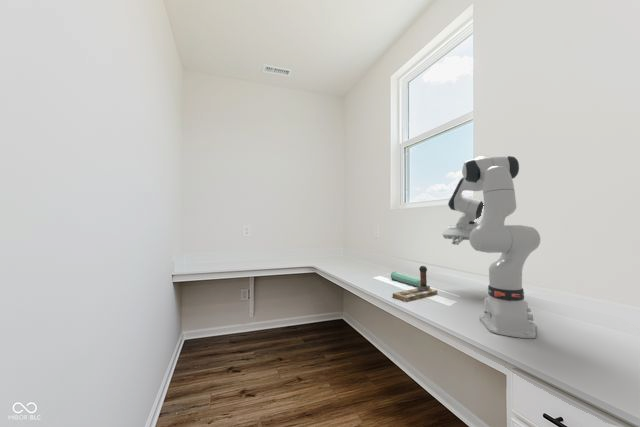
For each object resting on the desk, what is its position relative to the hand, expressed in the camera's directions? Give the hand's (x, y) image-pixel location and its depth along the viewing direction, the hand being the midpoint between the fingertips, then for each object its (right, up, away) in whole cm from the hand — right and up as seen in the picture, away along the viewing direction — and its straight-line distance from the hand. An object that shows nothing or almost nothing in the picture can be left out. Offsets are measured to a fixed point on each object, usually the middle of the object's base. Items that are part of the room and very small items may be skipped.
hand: (454, 243), depth 158 cm
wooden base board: (-24, -28, -5) cm, 37 cm away
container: (-20, -29, +25) cm, 43 cm away
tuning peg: (-18, -25, -3) cm, 31 cm away
